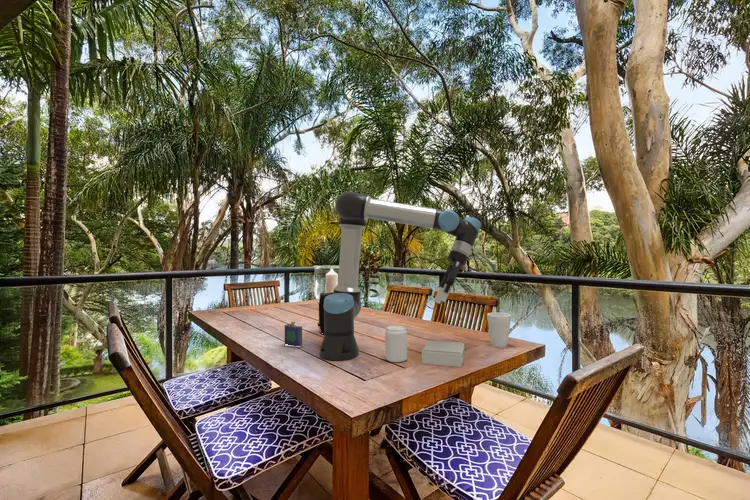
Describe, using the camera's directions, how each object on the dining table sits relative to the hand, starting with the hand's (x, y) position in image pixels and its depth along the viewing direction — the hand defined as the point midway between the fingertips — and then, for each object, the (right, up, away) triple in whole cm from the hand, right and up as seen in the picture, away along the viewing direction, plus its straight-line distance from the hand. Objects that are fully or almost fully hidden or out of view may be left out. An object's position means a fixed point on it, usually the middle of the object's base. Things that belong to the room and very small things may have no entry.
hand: (439, 301), depth 146 cm
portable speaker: (-48, -20, +34) cm, 62 cm away
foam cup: (+27, -20, +9) cm, 35 cm away
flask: (-60, -21, +12) cm, 65 cm away
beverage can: (-17, -21, -8) cm, 28 cm away
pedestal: (0, -20, -9) cm, 22 cm away
